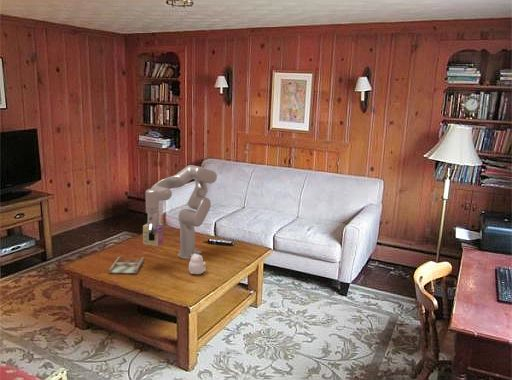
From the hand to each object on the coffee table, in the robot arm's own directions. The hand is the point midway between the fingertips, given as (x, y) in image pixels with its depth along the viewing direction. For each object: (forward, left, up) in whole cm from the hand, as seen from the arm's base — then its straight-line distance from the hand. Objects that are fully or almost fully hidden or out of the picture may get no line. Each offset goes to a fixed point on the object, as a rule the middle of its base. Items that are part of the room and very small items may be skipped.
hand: (152, 237), depth 258 cm
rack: (+16, 0, -20) cm, 25 cm away
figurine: (-27, +6, -20) cm, 34 cm away
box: (0, 0, -4) cm, 4 cm away
